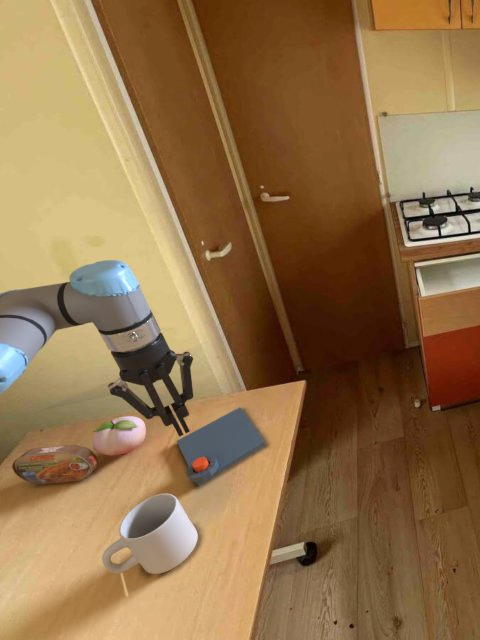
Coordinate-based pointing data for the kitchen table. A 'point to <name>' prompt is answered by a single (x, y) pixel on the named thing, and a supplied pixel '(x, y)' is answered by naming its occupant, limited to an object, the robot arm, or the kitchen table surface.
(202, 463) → the scale button
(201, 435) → the scale
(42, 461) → the tin
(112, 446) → the decorative fruit
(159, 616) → the kitchen table surface
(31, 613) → the kitchen table surface
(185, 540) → the mug
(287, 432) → the kitchen table surface
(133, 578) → the kitchen table surface
